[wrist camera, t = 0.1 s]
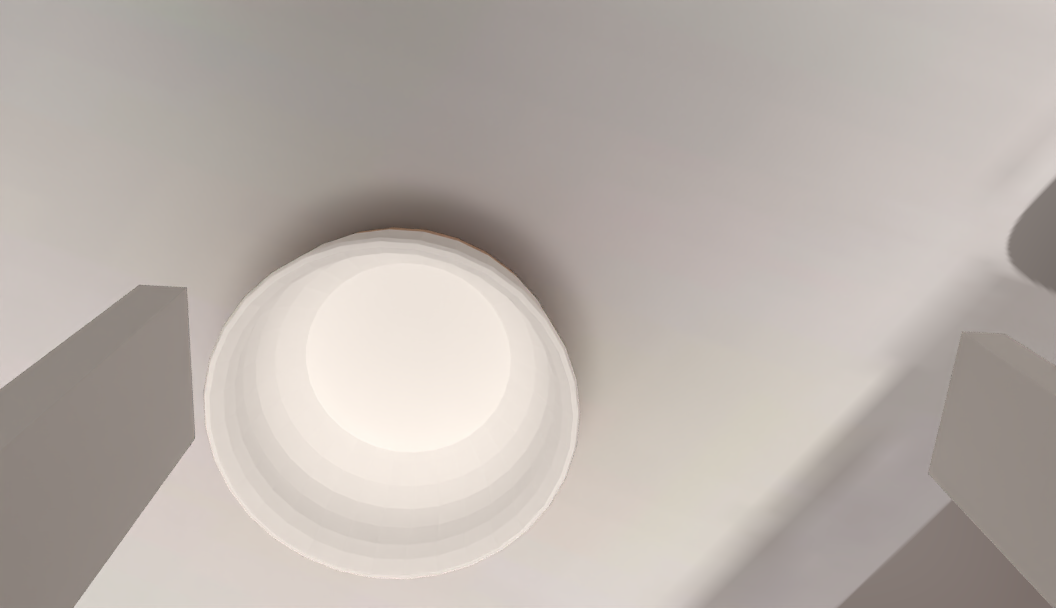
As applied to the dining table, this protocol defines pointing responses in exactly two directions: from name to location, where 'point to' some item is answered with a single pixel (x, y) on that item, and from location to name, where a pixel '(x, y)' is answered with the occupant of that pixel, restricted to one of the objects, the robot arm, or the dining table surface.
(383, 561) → the bowl
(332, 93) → the dining table surface
